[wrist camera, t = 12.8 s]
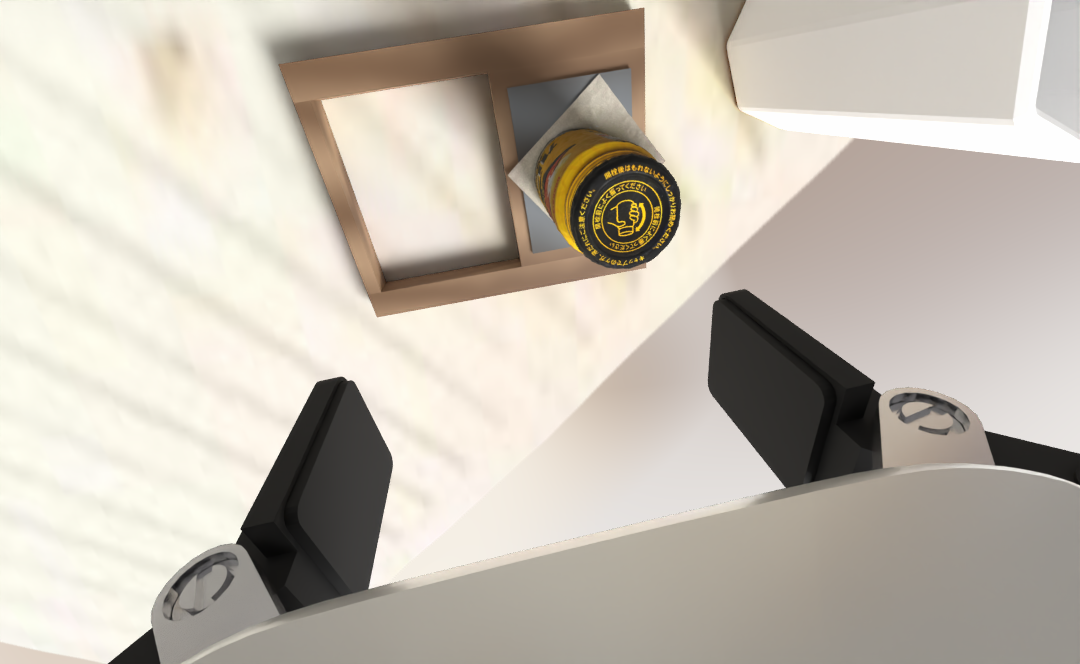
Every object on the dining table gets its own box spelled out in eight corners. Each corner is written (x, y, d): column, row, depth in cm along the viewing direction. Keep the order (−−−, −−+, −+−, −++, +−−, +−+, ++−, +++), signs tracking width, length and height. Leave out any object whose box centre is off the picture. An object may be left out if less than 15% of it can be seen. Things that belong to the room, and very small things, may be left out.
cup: (904, 34, 30) (1404, -37, 14) (775, 161, 33) (1056, 223, 17) (835, -119, 25) (1472, -499, 9) (693, 47, 28) (973, -16, 12)
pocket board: (291, 66, 26) (276, 64, 24) (633, 13, 27) (646, 6, 25) (381, 306, 34) (376, 319, 32) (637, 259, 35) (647, 269, 33)
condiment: (507, 174, 28) (524, 220, 18) (598, 73, 26) (677, 59, 16) (576, 245, 32) (624, 317, 21) (663, 160, 29) (764, 195, 19)
